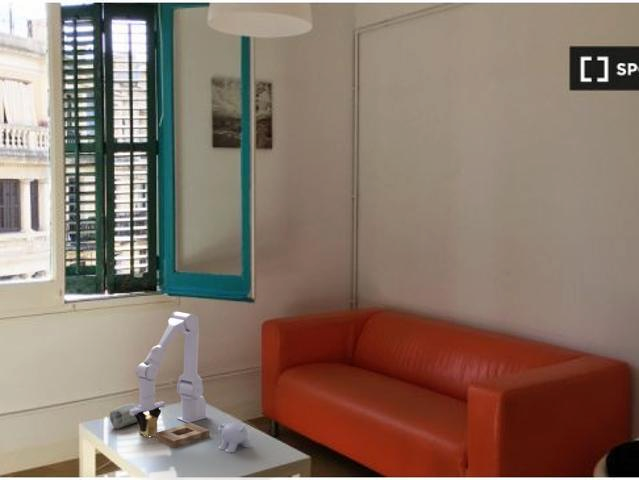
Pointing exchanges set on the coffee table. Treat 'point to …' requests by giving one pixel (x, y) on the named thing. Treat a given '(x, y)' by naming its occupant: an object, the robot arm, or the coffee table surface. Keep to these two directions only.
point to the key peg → (150, 425)
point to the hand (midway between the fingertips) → (147, 429)
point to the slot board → (182, 434)
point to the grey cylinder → (123, 416)
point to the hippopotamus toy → (233, 436)
